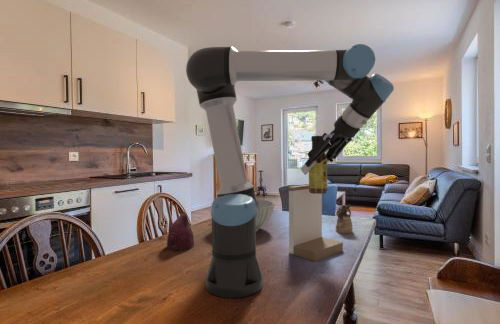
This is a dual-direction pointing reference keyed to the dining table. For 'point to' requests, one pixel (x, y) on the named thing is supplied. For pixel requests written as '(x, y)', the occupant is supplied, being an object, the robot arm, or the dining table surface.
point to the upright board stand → (308, 226)
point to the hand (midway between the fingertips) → (309, 171)
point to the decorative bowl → (264, 212)
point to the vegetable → (180, 235)
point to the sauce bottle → (318, 172)
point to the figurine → (344, 220)
